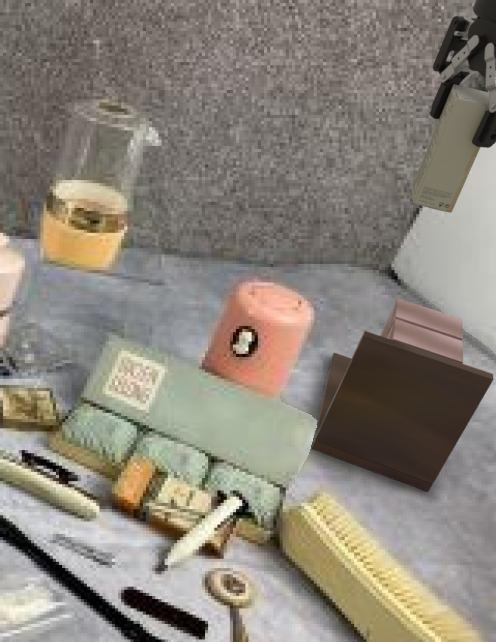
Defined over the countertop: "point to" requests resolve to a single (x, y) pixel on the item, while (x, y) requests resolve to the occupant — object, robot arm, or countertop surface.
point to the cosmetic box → (450, 150)
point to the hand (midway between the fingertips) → (458, 131)
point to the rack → (401, 397)
